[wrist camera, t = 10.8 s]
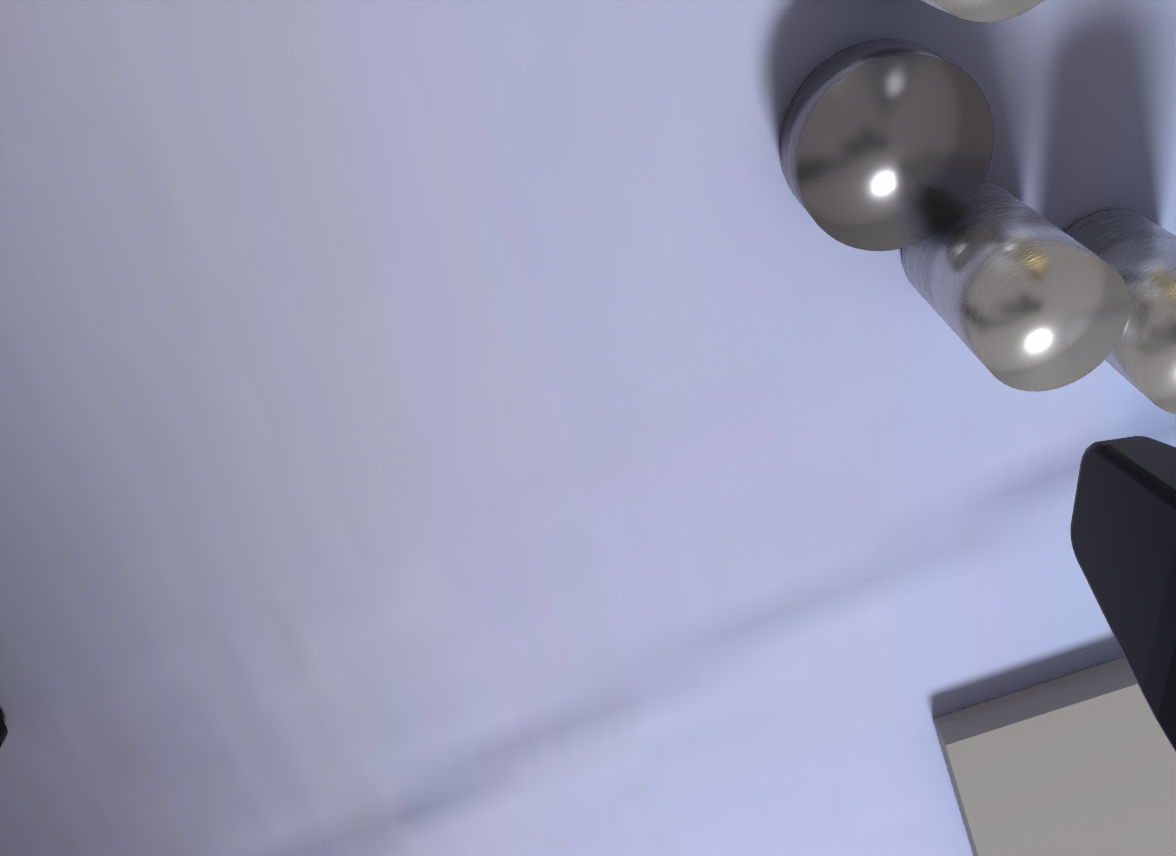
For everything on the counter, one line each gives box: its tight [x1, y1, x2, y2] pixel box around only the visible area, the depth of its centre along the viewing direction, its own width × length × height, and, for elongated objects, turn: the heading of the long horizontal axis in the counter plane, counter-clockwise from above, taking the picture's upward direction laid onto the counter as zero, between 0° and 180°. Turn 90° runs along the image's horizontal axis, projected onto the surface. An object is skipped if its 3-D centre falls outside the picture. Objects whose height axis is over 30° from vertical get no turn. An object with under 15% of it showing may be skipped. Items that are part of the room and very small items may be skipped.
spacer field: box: [780, 0, 1176, 414], centre depth 18 cm, size 8×10×4 cm
